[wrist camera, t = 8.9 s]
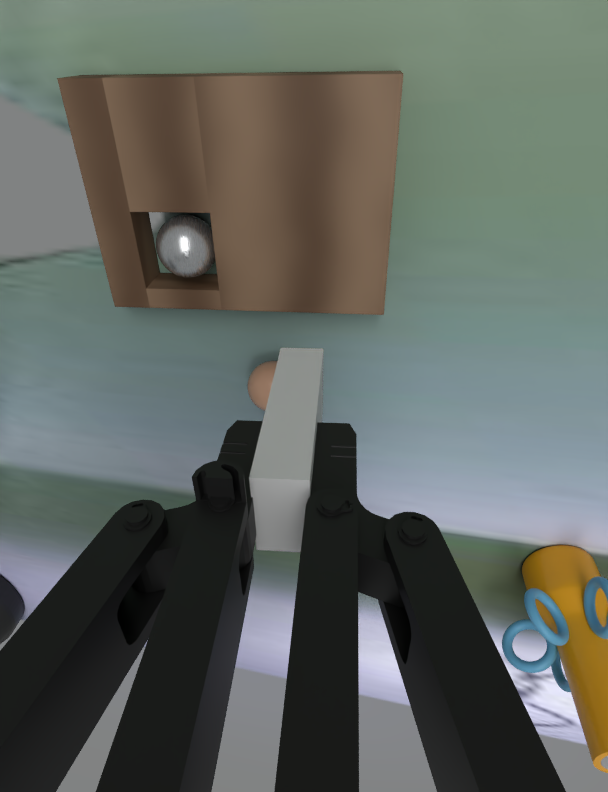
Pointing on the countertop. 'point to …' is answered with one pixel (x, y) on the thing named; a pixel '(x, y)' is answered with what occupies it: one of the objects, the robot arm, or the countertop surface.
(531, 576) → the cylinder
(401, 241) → the countertop surface
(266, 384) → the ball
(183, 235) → the steel ball
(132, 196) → the hole plate
